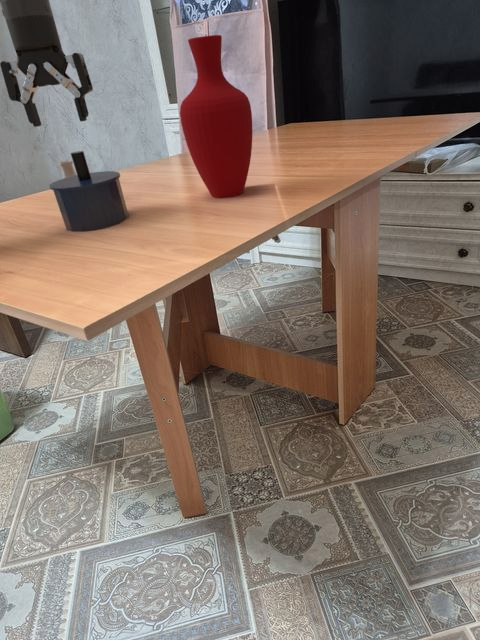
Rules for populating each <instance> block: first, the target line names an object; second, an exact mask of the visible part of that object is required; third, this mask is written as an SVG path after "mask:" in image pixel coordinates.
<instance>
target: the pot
mask: <svg viewBox="0 0 480 640" xmlns="http://www.w3.org/2000/svg"><path fill="white" fill-rule="evenodd" d="M52 191H53V194H54V196H55V200H56V202H57V206H58V209H59V212H60V215H61V217H62V220H63V223H64V226H65V229H66V231H68V232H69V231H70V232H73V233H74V232H75V233H77V232H78V233H79V232H80V233H83V232H92V231H98V230H102V229H107V228H110V227H114V226H116V225H119V224H121V223H123V222H125V221H127V220H128V218H129V212H128V209H127V204H126V200H125V197H124V192H123V189H122V186H121V181H120V178H118V179H117V180H115V181H112V182H109V183H106V184H103V185H99V186H95V187H90V188H84V189H78V190H68V191H55V190H52Z"/></svg>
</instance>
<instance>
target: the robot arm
mask: <svg viewBox="0 0 480 640" xmlns="http://www.w3.org/2000/svg"><path fill="white" fill-rule="evenodd" d="M0 7H1V13H2V16H3V18H4V20H5V23H6V27H7V30H8V32H9V35H10V39H11V42H12V45H13V48H14V51H15V53H16V61H9V60H3V61H1V62H0V69H1V72H2V73H1V74H2V77H3V80H4V83H5V88H6V90H7V91H6V92H7V94H8V98H9V100H11V101H13V102H19V103H21V104H22V105H23V107H24V110H25V114H26V116H27V119H28V122H29V123H30V124H31V125H32V126H33V127H35V128H36V127H42V121H41V118H40V114H39V111H38V108H37V105H36V103H35V102H33V100H34V98H35V95H36V93H37V91H38V88H41V87H48V86H60V85H62V87H63V88H65V89H67V91H69V93H71V95H73V96H74V98H73V100H74V105H75V108H76V112H77V115H78V119H79V122H86V121H87V120H88V119H87V118H88V117H89V110H88V106H87V103H86V102H87V101H86V95H87V94H89V93H92V92H93V90H94V87H93V84H92V81H91V76H90V74H89V71H88V67H87V65H86V60H85V58H84V55H83V54H82V53H81V52H73V53H72V54H68V55H66V54H65V53H64V50H63V47H62V44H61V40H60V35H59V33H58V28H57V25H56V21H55V18H54V14H53V11H52V7H51V3H50V0H0ZM69 64H70V65H71V67H72V68H73V69H75V71H76V73H77V76H78V77H77V78H78V80H79V83H80V86H79V85H78V84H77V83H76V82H75V81H74V79H73V78H72V77H71V76H70V75H69V74H68V73H67V69H68V66H69ZM19 71H21V72H22V74H23V75H24V76H25V78H24V82H23V85H22V91H21V88H20V86H19V82H18V78H17V76H18V74H19ZM21 92H22V93H21Z"/></svg>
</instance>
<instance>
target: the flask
mask: <svg viewBox="0 0 480 640" xmlns="http://www.w3.org/2000/svg"><path fill="white" fill-rule="evenodd" d="M57 164H58V166H59V168H60V169H61V172H62V179H64V178H68V177H71V176H76V175H77V173H76V170H75V168H74V165H73V164H74V163H73V160H63V161H60V162H58V163H57Z"/></svg>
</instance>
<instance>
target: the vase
mask: <svg viewBox="0 0 480 640" xmlns="http://www.w3.org/2000/svg"><path fill="white" fill-rule="evenodd" d="M222 41H223V36H222V35H220V34H212V35H203V36H197V37H192V38H189V39H188V40H187V43H188V45H189V49H190V51H191V54H192V57H193V61H194V63H195V68H196V74H197V76H196V77H197V78H196V82H195V85H194V86H193V88H192V90H191V91H190V93H188V94H187V96H185V98H183V100H182V101H181V104H180V107H179V118H180V124H181V128H182V133H183V136H184V139H185V143H186V146H187V149H188V151H189V154H190V157H191V159H192V162H193V164H194V166H195V169H196V171H197V172H198V175H199V176H200V178H201V180H202V182H203V184H204V185H205V187H206V189H207V190H208V192H209V194H210V196H211V197H212V198H214V199H228V198H229V199H230V198H235V197H238V196H241V195H242V194H243V193H244V192H245V188H246V183H247V181H248V179H247V178H248V175H249V170H250V166H251V165H250V164H251V159H252V151H253V113H252V106H251V103H250V100H249V97H248V96H247V95H246V93H245V92H244V91H242V90H241V89H238V87H235V86H234V85H233V84H231V83H230V82H229V80H228V79H227V78H226V77H225V75H224V72H223V67H222V45H223V44H222Z"/></svg>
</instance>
